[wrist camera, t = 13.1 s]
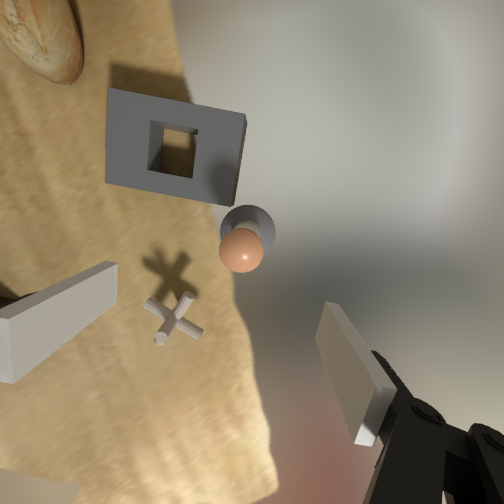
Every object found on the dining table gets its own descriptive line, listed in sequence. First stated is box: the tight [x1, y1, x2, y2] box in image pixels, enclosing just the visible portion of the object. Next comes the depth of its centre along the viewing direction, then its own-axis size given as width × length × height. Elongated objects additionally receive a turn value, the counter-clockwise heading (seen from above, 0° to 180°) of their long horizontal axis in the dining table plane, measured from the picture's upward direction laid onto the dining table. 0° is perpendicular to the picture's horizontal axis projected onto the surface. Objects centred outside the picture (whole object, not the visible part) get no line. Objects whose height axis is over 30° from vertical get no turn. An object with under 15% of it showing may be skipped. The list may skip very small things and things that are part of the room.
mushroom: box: [219, 219, 263, 272], centre depth 33 cm, size 5×5×12 cm
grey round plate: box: [220, 205, 275, 255], centre depth 39 cm, size 9×9×1 cm
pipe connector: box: [143, 291, 203, 345], centre depth 38 cm, size 10×10×10 cm
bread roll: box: [0, 0, 83, 85], centre depth 29 cm, size 10×15×8 cm, turn 16°
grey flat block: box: [105, 87, 247, 207], centre depth 34 cm, size 18×12×4 cm, turn 79°
